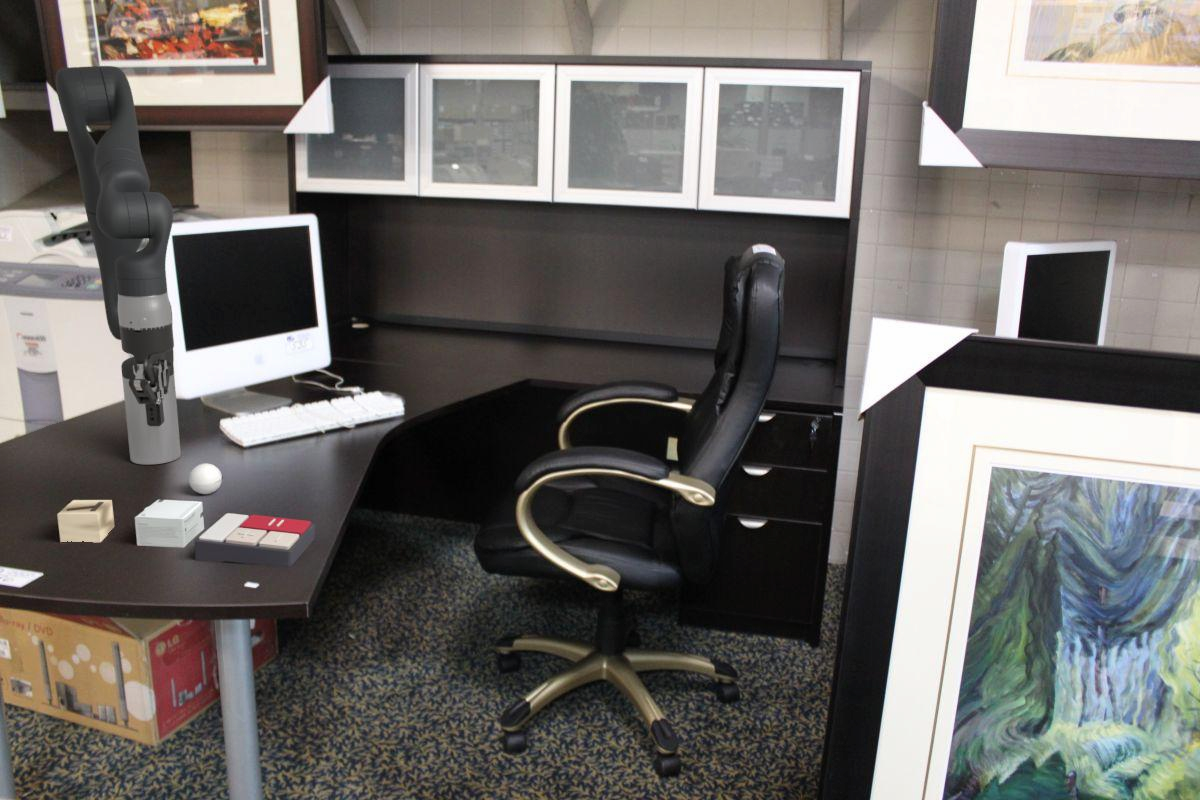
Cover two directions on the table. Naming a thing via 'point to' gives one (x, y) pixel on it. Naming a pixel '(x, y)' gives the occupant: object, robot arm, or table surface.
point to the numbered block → (86, 520)
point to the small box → (169, 523)
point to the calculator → (255, 540)
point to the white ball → (205, 478)
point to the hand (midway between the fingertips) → (156, 424)
